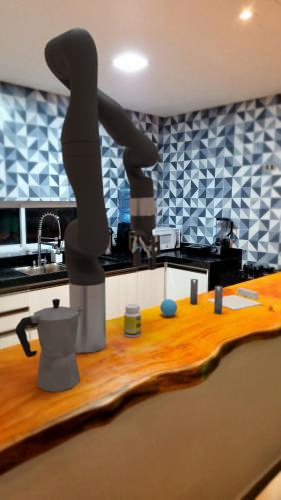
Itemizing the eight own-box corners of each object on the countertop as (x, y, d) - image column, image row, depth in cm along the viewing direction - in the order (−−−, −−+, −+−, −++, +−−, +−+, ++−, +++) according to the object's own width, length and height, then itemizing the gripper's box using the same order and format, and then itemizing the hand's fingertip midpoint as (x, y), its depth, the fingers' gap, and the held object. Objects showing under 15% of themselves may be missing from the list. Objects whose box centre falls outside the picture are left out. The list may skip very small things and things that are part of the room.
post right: (217, 314, 122) (218, 288, 120) (212, 312, 124) (213, 286, 123) (223, 313, 123) (224, 287, 122) (218, 311, 125) (219, 285, 124)
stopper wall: (255, 299, 140) (255, 293, 140) (237, 294, 148) (237, 288, 147) (257, 298, 141) (258, 292, 140) (240, 293, 148) (240, 287, 148)
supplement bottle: (138, 338, 101) (139, 308, 100) (122, 337, 102) (122, 307, 101) (142, 332, 106) (142, 304, 105) (126, 330, 107) (126, 303, 106)
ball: (166, 319, 117) (166, 302, 116) (156, 314, 121) (157, 298, 121) (180, 316, 120) (180, 300, 119) (170, 312, 124) (170, 296, 123)
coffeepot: (72, 364, 86) (70, 289, 83) (97, 378, 79) (95, 297, 76) (8, 387, 75) (4, 302, 72) (30, 406, 68) (26, 313, 66)
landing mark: (234, 310, 127) (234, 309, 127) (206, 300, 138) (206, 299, 138) (261, 304, 134) (261, 303, 134) (233, 295, 146) (233, 294, 146)
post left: (193, 305, 132) (193, 280, 131) (188, 303, 135) (189, 279, 133) (198, 304, 134) (199, 279, 132) (194, 302, 136) (194, 278, 135)
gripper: (120, 213, 112) (122, 265, 114) (144, 215, 99) (146, 273, 102) (141, 211, 115) (143, 261, 118) (167, 213, 103) (168, 269, 106)
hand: (144, 267), depth 110 cm, fingers open, 8 cm apart
